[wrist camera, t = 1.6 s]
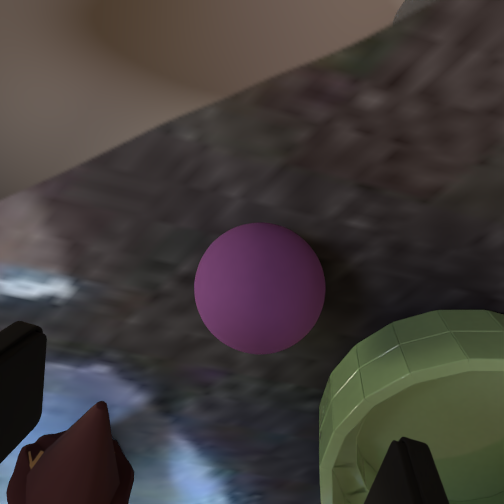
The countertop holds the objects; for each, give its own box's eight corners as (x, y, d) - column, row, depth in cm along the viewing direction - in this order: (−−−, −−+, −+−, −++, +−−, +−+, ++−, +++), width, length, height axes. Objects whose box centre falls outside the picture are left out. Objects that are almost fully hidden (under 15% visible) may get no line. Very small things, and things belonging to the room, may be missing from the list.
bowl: (364, 271, 20) (378, 316, 15) (650, 350, 19) (760, 424, 14) (292, 471, 25) (286, 552, 20) (518, 544, 24) (567, 647, 19)
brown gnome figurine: (-12, 401, 18) (-37, 554, 25) (102, 507, 17) (44, 643, 23) (100, 335, 24) (57, 472, 31) (192, 408, 23) (126, 538, 29)
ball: (225, 197, 20) (188, 225, 14) (339, 227, 20) (347, 268, 14) (204, 299, 22) (164, 358, 16) (306, 328, 22) (302, 400, 16)
